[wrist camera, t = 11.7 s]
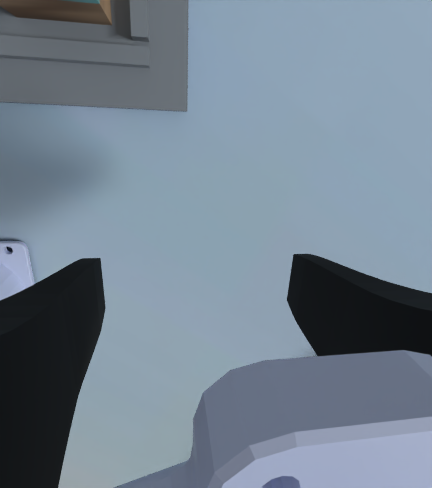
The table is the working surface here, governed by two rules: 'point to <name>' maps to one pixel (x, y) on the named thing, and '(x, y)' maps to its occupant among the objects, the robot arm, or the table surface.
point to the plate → (99, 58)
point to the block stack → (61, 10)
